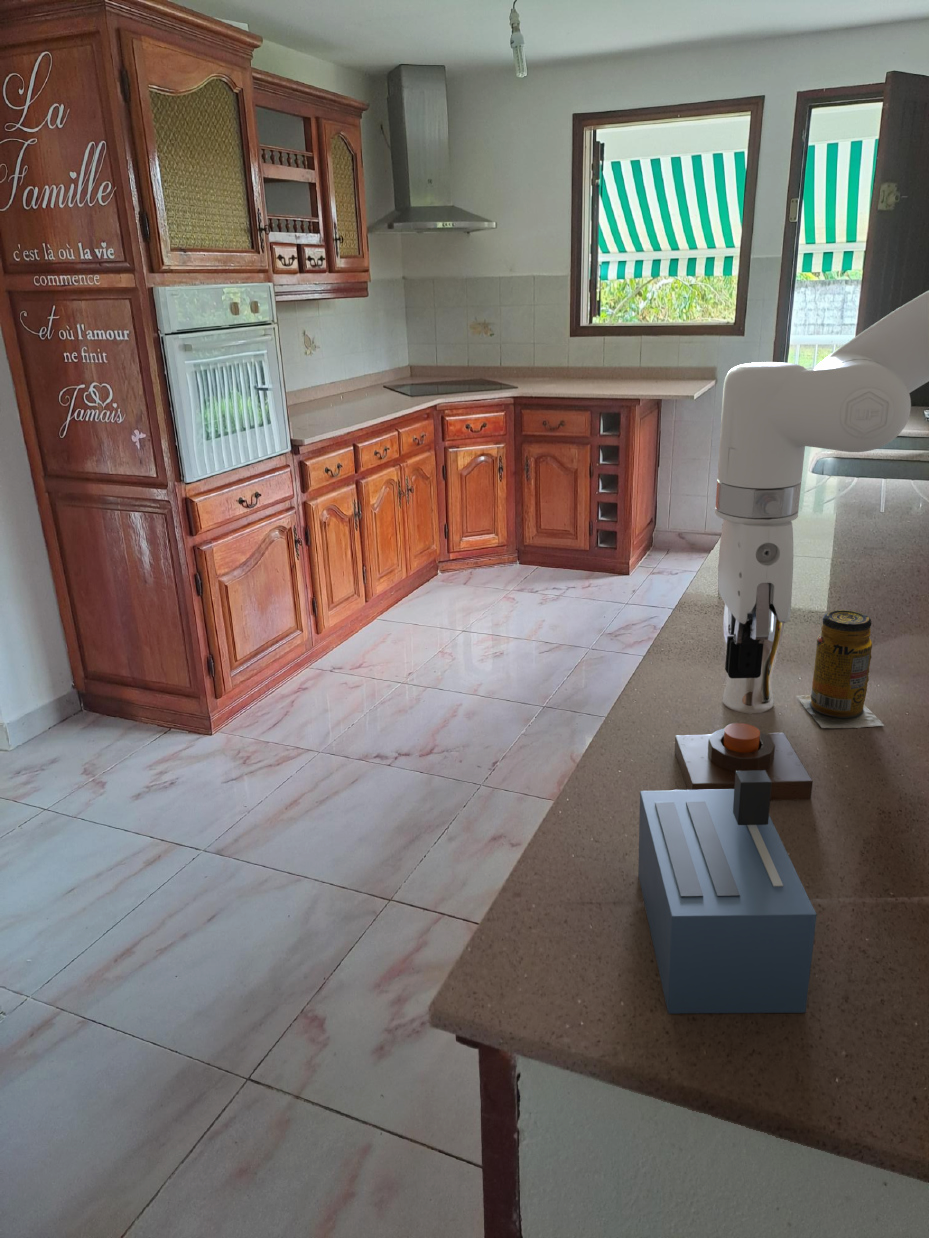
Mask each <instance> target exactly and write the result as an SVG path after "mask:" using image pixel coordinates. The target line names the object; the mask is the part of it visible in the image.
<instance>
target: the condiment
mask: <svg viewBox="0 0 929 1238" xmlns="http://www.w3.org/2000/svg"><path fill="white" fill-rule="evenodd" d="M821 619H822V622H821V623H822V625H821V627H820V631H821V632H820V633H819V634H818V636H817V637H816V638H817V639H816V645H815V646H816V647H815V653H814V654H815V655H814V665H813V672H812V673H813V674H812V682H811V691H810V694H804V695H801V694H800V695H799V694H798V695H795V697H796V698H797V700H798V701H799V702H800V704H801V705H802V706H803V708H804V709H805V710H806V711H807V712H808V713H809V714H810V715H811V717H812V718H813V720H814V721H815V722H816V723H817V724H818V726H820V727H821V729H854V728H855V729H856V728H857V729H860V728H867V727H868V728H874V727H885V724H884V723H883V722H882V721H881V720H880V719H879V718H878V717H877V716H876V715H875V713H874V712H872V710H870V709H869V708H868V707H867V706H866V705H865V702H866V696H867V693H868V683H869V680H870V679H869V677H870V676H869V674H870V666H871V660H872V649H873V642H872V639H871V638H870V637H871V634H872V633H871V627H872V624H873V623H872V619H871V617H870V616H868V615H867V614H864V613H863V612H859V611H856V610H852V609H851V610H850V609H834V610H830V611H828V612H826V613H824V615H823V617H822V618H821Z"/></svg>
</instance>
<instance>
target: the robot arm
mask: <svg viewBox="0 0 929 1238" xmlns="http://www.w3.org/2000/svg"><path fill="white" fill-rule="evenodd" d="M928 382H929V290H927V291H925V292H923V293H922V294H919V295H918V296H916V297H915V298H912V300H910V301H908V302H906V303H905V304H903V305H902V306H900V307H898V308H896V309H895V310H894V311H891V312H890V313H889V314H887V315H886V316H883V318H881V319H879V320H878V321H877V322H875V323H874V324H872V325H870V326H869V327H868V328H866V329H865V330H863V331H861V332H860V333H859V334H857V335H856V336H855V337H853V338H851V339H850V340H848V341H847V342H846V343H844V344H842V345H841V346H840V347H838V348H837V349H836V350H834V351H833V352H832V353H829V355H828V356H826V357H825V358H824V359H823V360H822V361H820V362H819V363H818V364H817V365H816V366H815V367H814V369H807V368H806V367H804V366H803V365H800V364H797V363H792V362H791V363H790V362H780V361H779V362H777V361H766V362H765V361H764V362H763V361H761V362H760V361H759V362H751V363H750V362H749V363H743V364H742V363H741V364H739V365H736V366H734V367H732V368H731V369H730V370H729V371H728V372H727V373H726V376H725V377H724V381H723V387H722V388H723V389H722V404H721V418H720V419H721V420H720V433H719V449H718V465H717V477H716V478H717V479H716V490H715V491H716V492H715V493H716V494H715V495H716V496H715V507H714V508H715V509H714V514H715V516H716V517H718V518H719V519H722V523H721V534H720V535H721V536H720V545H719V553H718V554H719V555H718V567H717V591H718V594H719V596H720V598H721V599H722V601H723V603H724V605H725V604H726V606H727V607H728V609H729V613H728V633H729V635H734V636H727V649H726V655H725V663H724V670H725V672H726V674H727V673H728V676H729V677H730V678H758V677H760V675H761V666H762V656H763V645H764V641H765V640H768V637H769V609H770V610H771V612H772V613H773V614H774V615H775V617H776V618H777V619H778V621H780V622H781V623H784V624H786V623H788V622H789V621H790V620H791V612H792V600H793V599H792V596H793V580H794V579H793V578H794V577H793V576H794V531H793V530H794V526H793V521H795V520H797V519H798V517H799V509H800V499H801V489H802V481H803V472H804V471H803V470H804V462H805V461H804V460H805V452H806V451H805V450H806V447H809V448H817V449H823V450H833V451H838V452H846V453H865V452H872V451H875V450H877V449H880V448H882V447H884V446H887V445H888V444H890V443H891V442H893V440H895V439H896V438H898V436H899V435H900V434H901V433H902V432H903V431H904V429H905V428H906V426H907V424H908V421H909V419H910V416H911V409H912V399H911V394H910V393H912V392H913V391H915V390H917V389H918V388H921V387H922V386H923V385H925V384H927V383H928Z"/></svg>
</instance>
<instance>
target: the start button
mask: <svg viewBox="0 0 929 1238" xmlns="http://www.w3.org/2000/svg"><path fill="white" fill-rule="evenodd" d="M724 728H725V729H724ZM724 728H723V729H724V747H726V748H727V749H729V750H732V751H736V752H740V753H744V752H754V751H757V750H758V749H759V741H760V732H761V731H760V729H759V728H757V727H756V726H755V725H752V724H749V723H744V722H743V723H742V722H733V723H729V724H728V725H726V726H725V727H724Z"/></svg>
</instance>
